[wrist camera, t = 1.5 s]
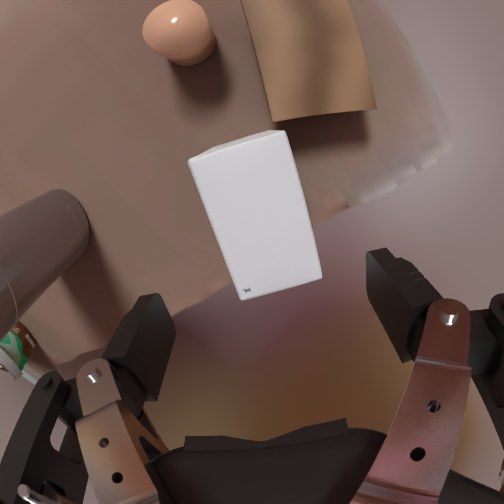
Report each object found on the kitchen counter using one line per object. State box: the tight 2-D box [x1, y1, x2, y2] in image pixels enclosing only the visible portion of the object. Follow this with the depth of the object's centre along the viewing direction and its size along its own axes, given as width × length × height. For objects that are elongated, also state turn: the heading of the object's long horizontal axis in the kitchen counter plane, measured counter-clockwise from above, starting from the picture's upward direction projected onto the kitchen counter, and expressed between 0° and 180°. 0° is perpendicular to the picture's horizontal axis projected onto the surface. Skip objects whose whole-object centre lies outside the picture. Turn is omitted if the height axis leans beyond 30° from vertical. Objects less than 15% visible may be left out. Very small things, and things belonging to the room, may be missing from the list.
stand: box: [241, 0, 377, 122], centre depth 19 cm, size 9×12×4 cm
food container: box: [0, 321, 37, 380], centre depth 32 cm, size 12×6×10 cm, turn 84°
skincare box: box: [188, 130, 322, 300], centre depth 22 cm, size 10×6×10 cm, turn 17°
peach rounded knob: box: [142, 0, 216, 66], centre depth 17 cm, size 5×5×6 cm
